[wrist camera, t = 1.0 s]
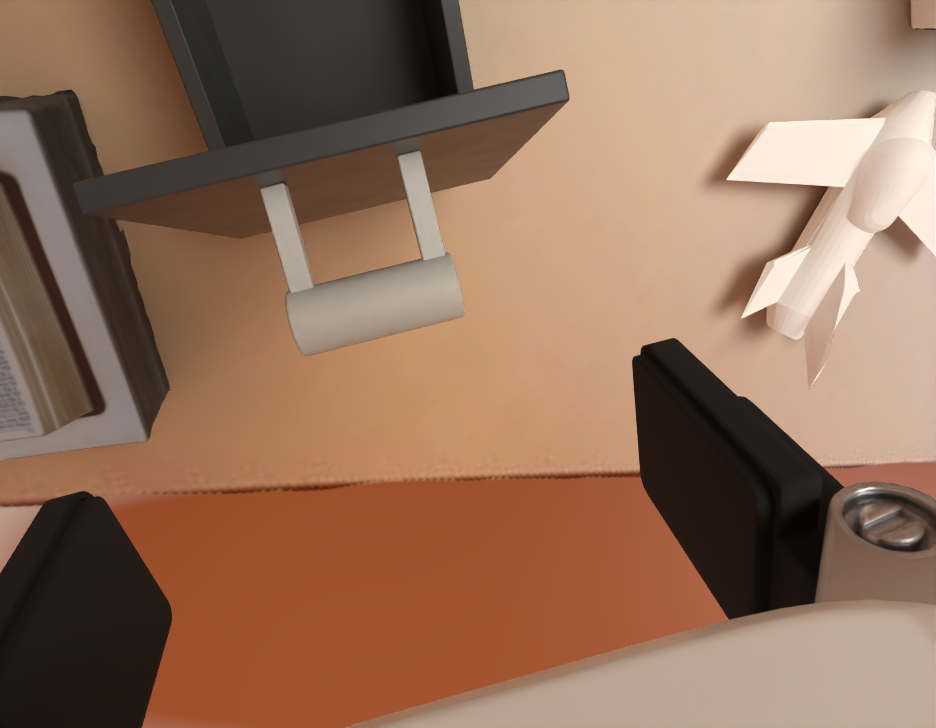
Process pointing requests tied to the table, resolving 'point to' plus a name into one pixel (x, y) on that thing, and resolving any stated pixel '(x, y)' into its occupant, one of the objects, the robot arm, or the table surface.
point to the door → (343, 199)
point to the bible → (66, 296)
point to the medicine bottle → (923, 14)
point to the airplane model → (841, 209)
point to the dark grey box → (310, 60)
